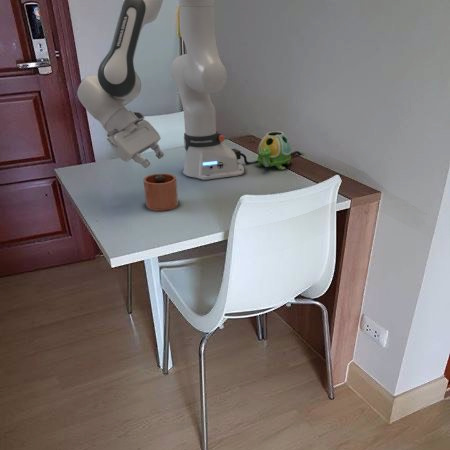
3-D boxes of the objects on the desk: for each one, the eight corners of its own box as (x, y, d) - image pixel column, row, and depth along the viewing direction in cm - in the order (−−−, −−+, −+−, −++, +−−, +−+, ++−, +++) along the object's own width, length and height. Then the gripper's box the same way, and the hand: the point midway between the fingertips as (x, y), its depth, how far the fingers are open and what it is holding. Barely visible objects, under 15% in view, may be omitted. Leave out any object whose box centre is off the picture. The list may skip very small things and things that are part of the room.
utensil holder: (177, 198, 159) (175, 172, 154) (179, 209, 151) (177, 182, 146) (146, 200, 158) (143, 174, 153) (146, 212, 150) (143, 185, 145)
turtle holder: (246, 172, 180) (247, 139, 174) (265, 158, 194) (266, 127, 187) (278, 176, 175) (279, 142, 169) (295, 162, 189) (297, 130, 182)
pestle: (168, 199, 156) (165, 172, 151) (168, 204, 152) (166, 176, 148) (155, 200, 155) (152, 172, 151) (155, 205, 152) (153, 176, 147)
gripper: (109, 127, 135) (145, 165, 137) (143, 111, 151) (175, 145, 153) (98, 142, 138) (133, 179, 141) (132, 125, 155) (163, 158, 157)
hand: (155, 161), depth 147 cm, fingers open, 8 cm apart
